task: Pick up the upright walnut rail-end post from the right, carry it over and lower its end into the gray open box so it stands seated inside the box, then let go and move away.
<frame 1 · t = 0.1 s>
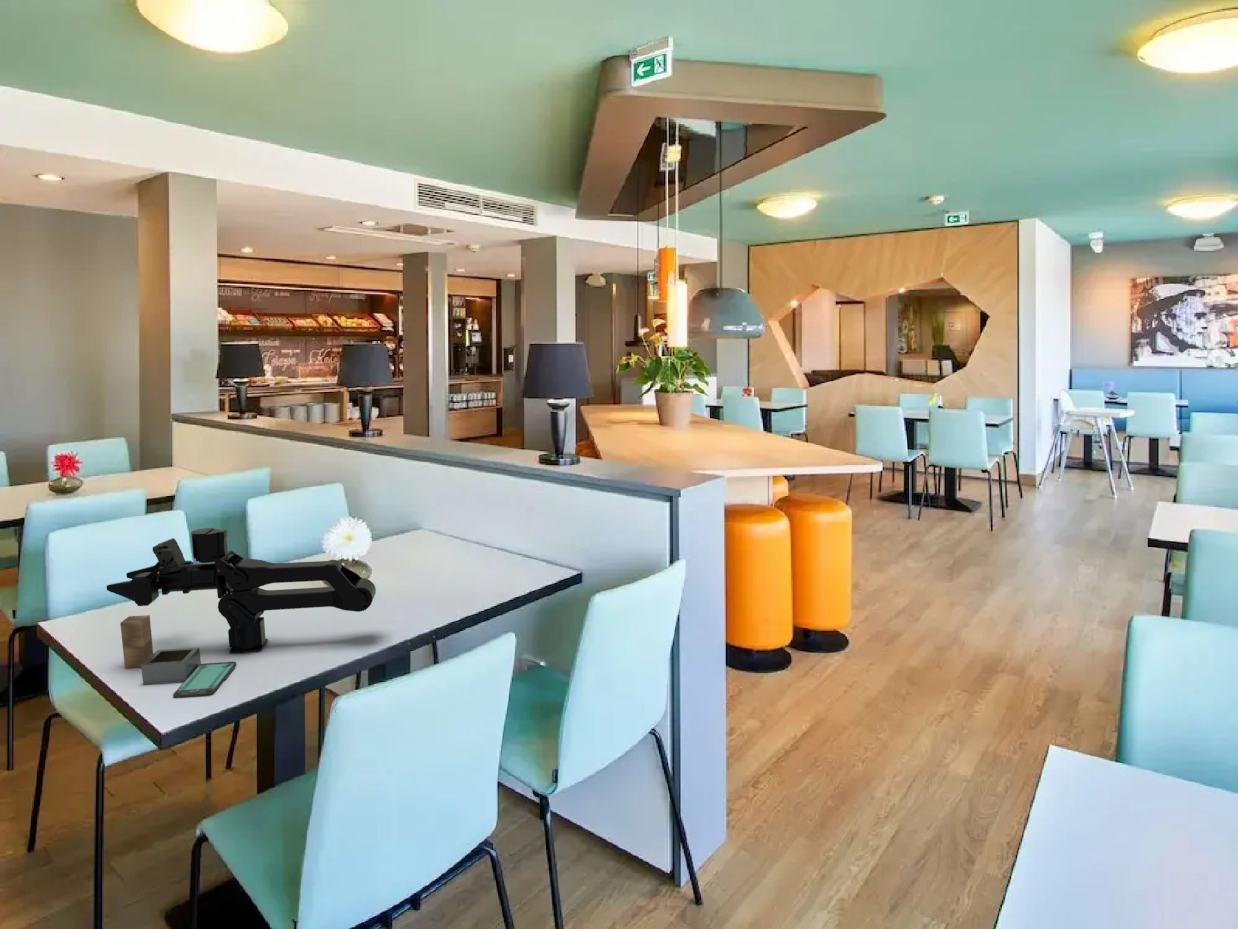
hand: (117, 581, 165), 17 cm above the table, tool horizontal, fingers open, 9 cm apart
gray open box: (172, 674, 158), on the table
smartphone: (207, 683, 155), on the table
rail post: (139, 664, 163), on the table
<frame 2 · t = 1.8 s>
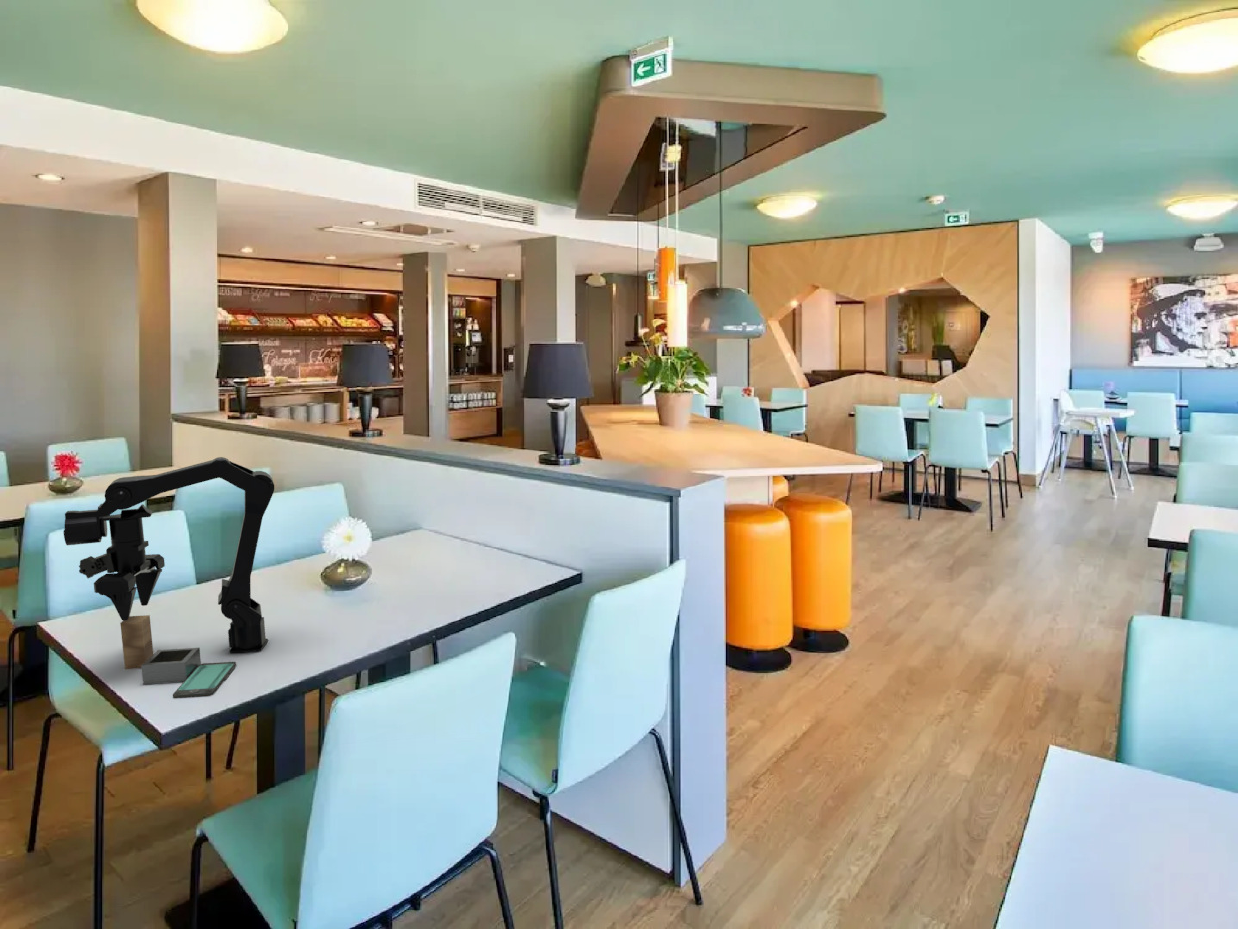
hand: (135, 612, 161), 11 cm above the table, tool pointing down, fingers open, 9 cm apart
nothing on the table moved.
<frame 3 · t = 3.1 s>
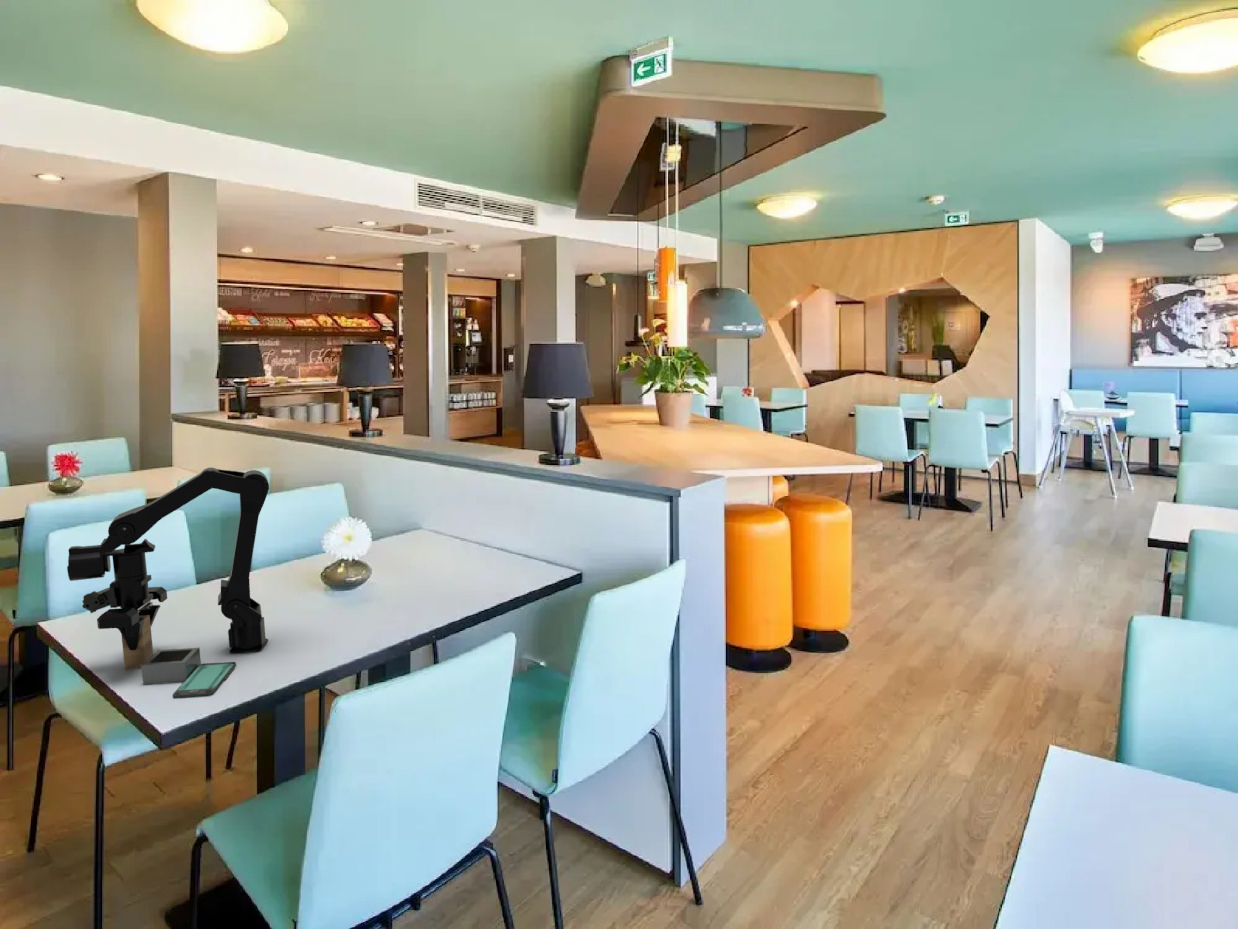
hand: (137, 646, 162), 4 cm above the table, tool pointing down, fingers closed on rail post, 4 cm apart
rail post: (139, 664, 163), on the table, touching gripper
everything else where it was.
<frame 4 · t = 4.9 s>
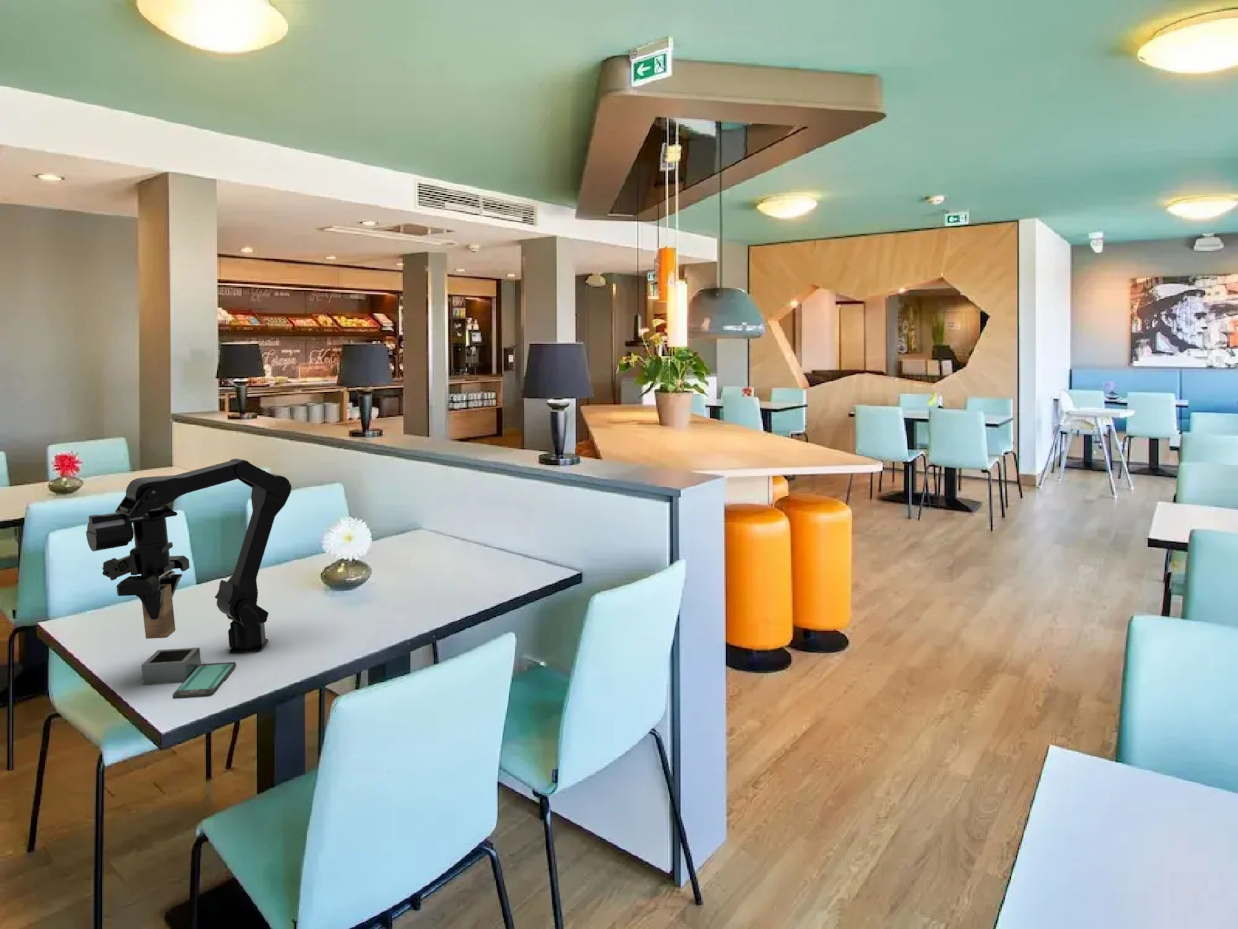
hand: (159, 615, 157), 12 cm above the table, tool pointing down, fingers closed on rail post, 4 cm apart
rail post: (160, 634, 158), point 8 cm above the table, touching gripper
everything else where it was.
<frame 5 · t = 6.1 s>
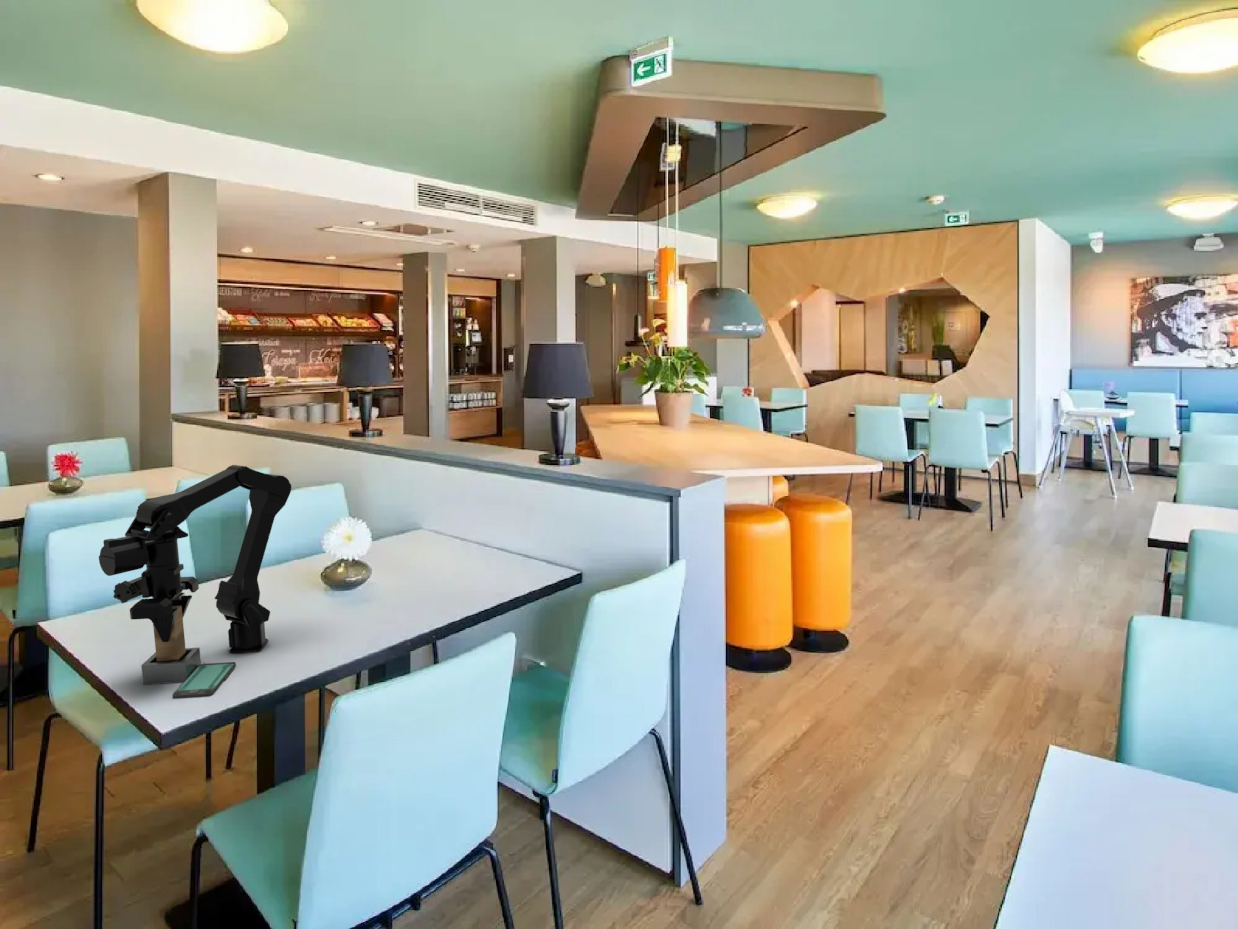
hand: (170, 637, 157), 8 cm above the table, tool pointing down, fingers closed on rail post, 4 cm apart
rail post: (171, 656, 157), point 4 cm above the table, touching gripper
everything else where it was.
when the fingers open (5 cm above the table, at t = 7.1 s): rail post stays where it is, resting on gray open box.
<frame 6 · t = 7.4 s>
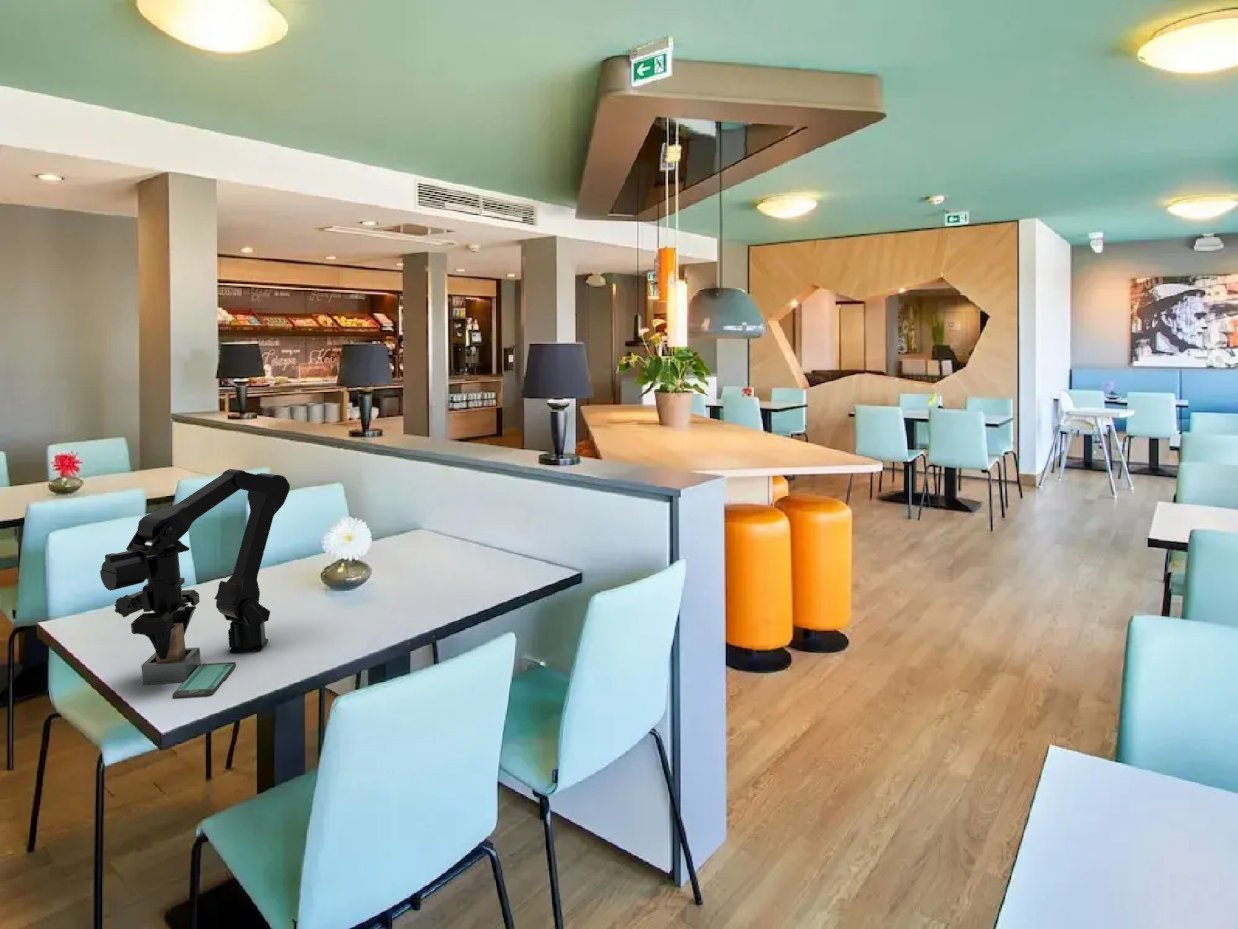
hand: (170, 651, 157), 5 cm above the table, tool pointing down, fingers open, 7 cm apart
rail post: (172, 674, 158), resting on gray open box
everything else where it was.
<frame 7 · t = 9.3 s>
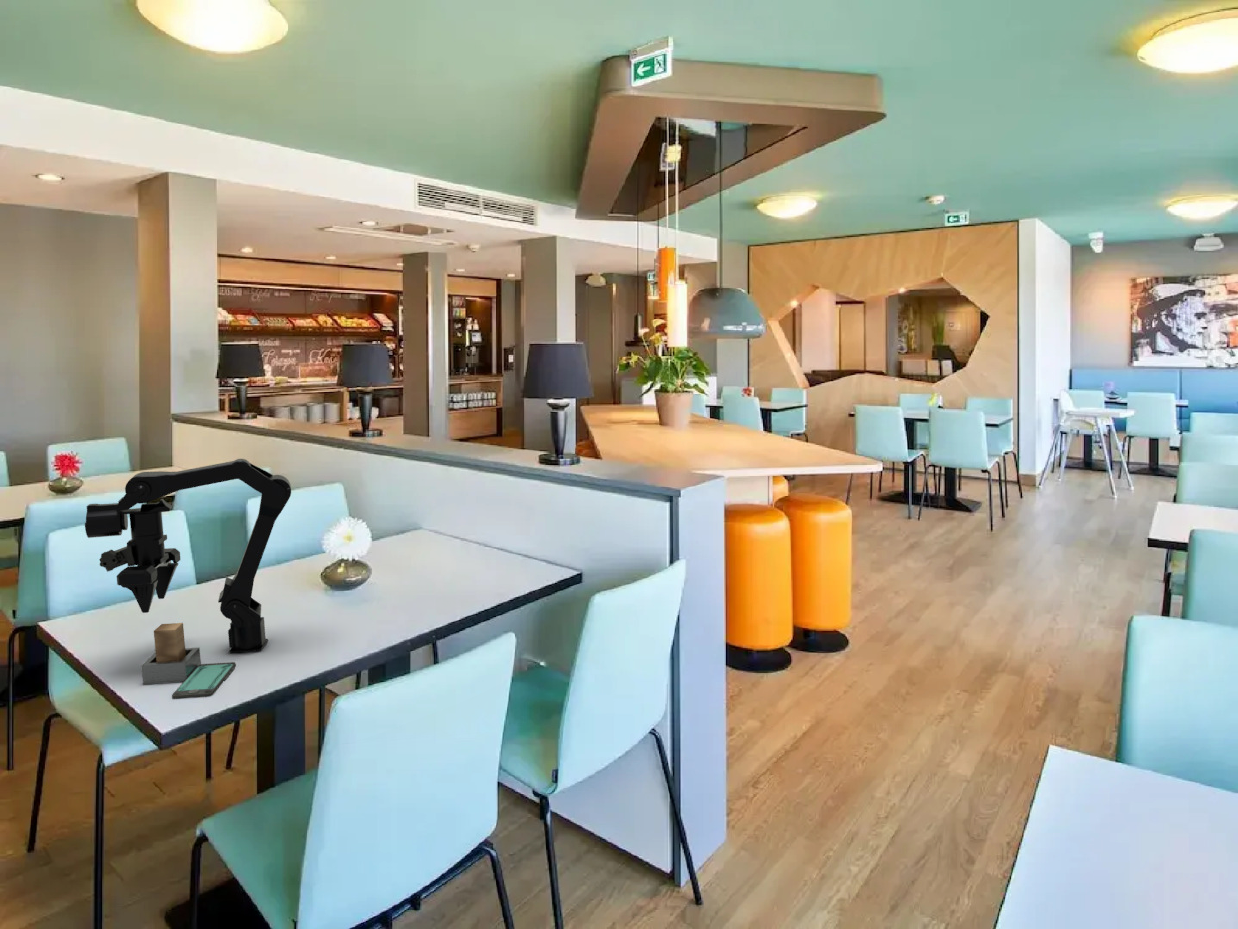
hand: (153, 605, 164), 12 cm above the table, tool pointing down, fingers open, 9 cm apart
nothing on the table moved.
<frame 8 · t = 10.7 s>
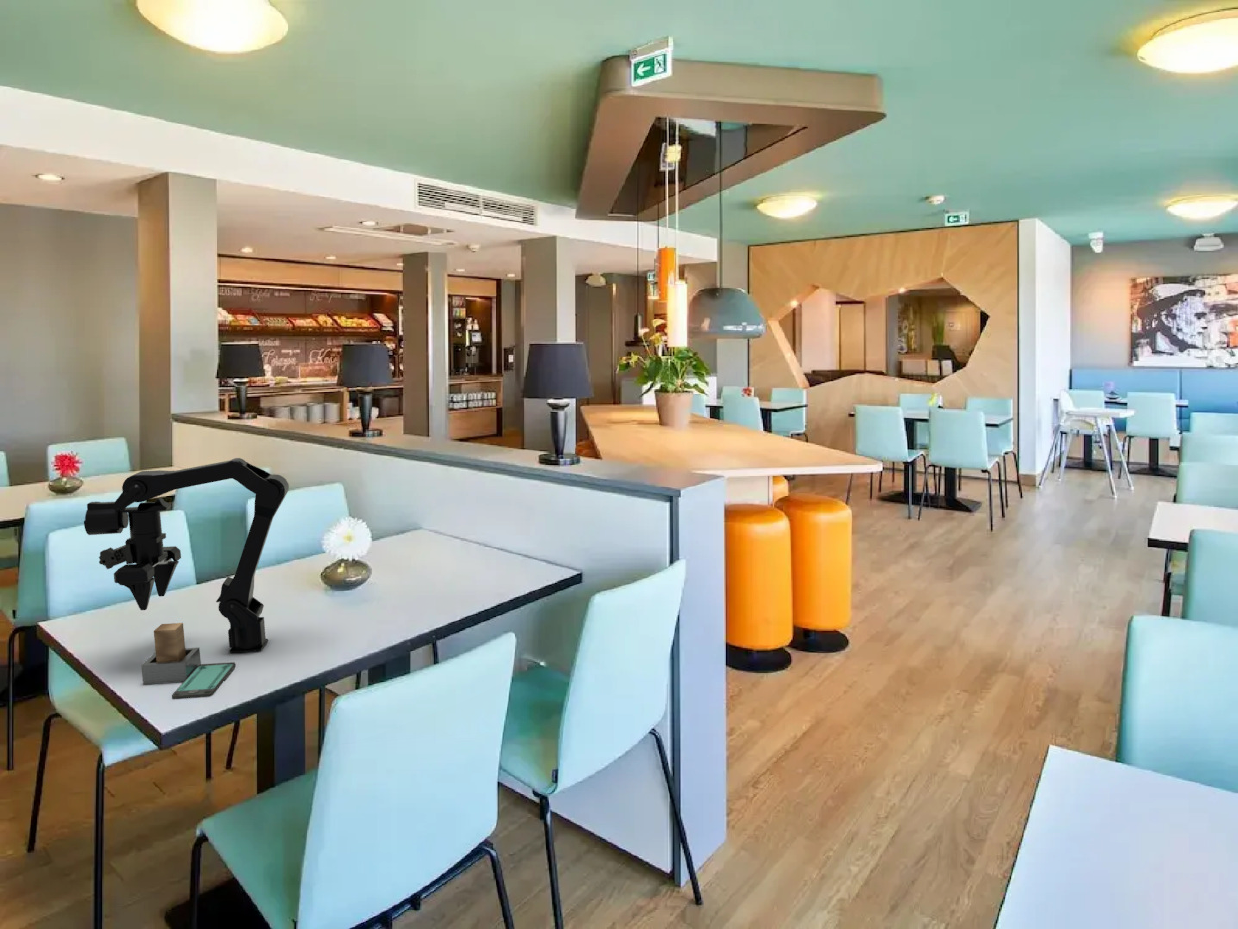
hand: (152, 602, 165), 12 cm above the table, tool pointing down, fingers open, 9 cm apart
nothing on the table moved.
at the end: rail post 0.0 cm off-centre on the gray open box, point 0.2 cm above the gray open box's base; rail post tilted 0°; the gripper is holding nothing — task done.
